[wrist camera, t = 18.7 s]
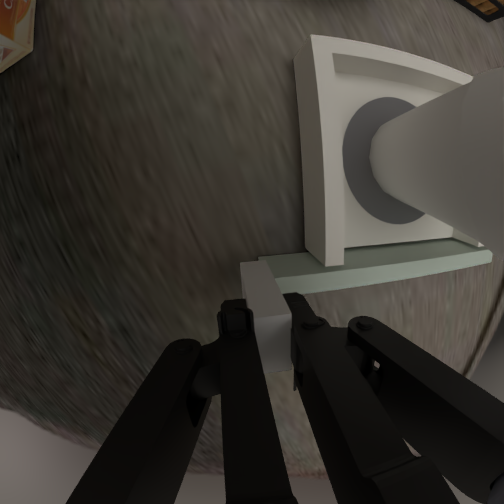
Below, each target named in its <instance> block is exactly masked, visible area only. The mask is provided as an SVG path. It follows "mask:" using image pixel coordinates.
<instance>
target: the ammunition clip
mask: <svg viewBox="0 0 504 504" xmlns="http://www.w3.org/2000/svg"><path fill="white" fill-rule="evenodd" d="M454 1H456V2H458V3H459V4H461V5H463V6H464V7H466V8H467V9H469V10H470V11H472V12H473V13H475V14H476V15H478V16H479V17H481V18H482V19H483V20H485V21H486V22H491V21H493V20H496V19H498V18H501V17H504V0H454Z"/></svg>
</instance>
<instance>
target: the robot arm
mask: <svg viewBox="0 0 504 504" xmlns="http://www.w3.org/2000/svg"><path fill="white" fill-rule="evenodd" d="M240 271H241V284H242V295H243V299H234V300H225V301H224V302H223V303H222V304H221V311H220V312H218V314H217V321H218V328H219V336H220V337H219V338H218V339H217V340H216V341H214V342H212V343H210V344H207V345H203V346H201V344H200V343H199V342H198V341H196V340H194V339H179V340H176V341H174V342H172V343H170V344H169V345H168V346H167V347H166V349H165V350H164V352H163V353H162V355H161V356H160V357H159V359H158V360H157V362H156V363H155V365H154V366H153V368H152V369H151V371H150V373H149V374H148V376H147V377H146V379H145V380H144V382H143V383H142V385H141V386H140V388H139V389H138V391H137V392H136V394H135V395H134V397H133V398H132V400H131V401H130V403H129V404H128V406H127V407H126V409H125V411H124V412H123V414H122V415H121V417H120V418H119V420H118V421H117V423H116V424H115V426H114V427H113V429H112V431H111V432H110V434H109V435H108V437H107V438H106V440H105V441H104V443H103V445H102V446H101V448H100V449H99V451H98V452H97V454H96V456H95V457H94V459H93V460H92V462H91V464H90V465H89V467H88V468H87V470H86V471H85V473H84V475H83V476H82V478H81V479H80V481H79V483H78V485H77V486H76V488H75V489H74V491H73V492H72V494H71V496H70V497H69V499H68V500H67V502H66V504H174V502H175V499H176V497H177V494H178V491H179V489H180V486H181V483H182V481H183V478H184V475H185V472H186V470H187V467H188V464H189V462H190V459H191V456H192V453H193V451H194V448H195V445H196V442H197V440H198V437H199V434H200V431H201V429H202V426H203V423H204V420H205V418H206V415H207V412H208V409H209V406H210V404H211V399H212V396H215V395H218V394H221V415H222V438H223V458H224V475H225V489H226V504H298V502H297V499H296V498H295V497H294V496H293V494H292V491H291V486H290V482H289V478H288V474H287V470H286V466H285V462H284V458H283V453H282V449H281V445H280V441H279V437H278V432H277V428H276V424H275V419H274V415H273V411H272V406H271V402H270V398H269V393H268V389H267V385H266V380H265V376H264V374H265V373H273V372H280V371H287V370H291V361H292V363H293V366H294V391H295V390H296V386H297V388H298V390H299V393H300V396H301V399H302V402H303V405H304V408H305V411H306V414H307V416H308V419H309V422H310V425H311V428H312V431H313V434H314V437H315V439H316V442H317V445H318V448H319V451H320V454H321V457H322V460H323V462H324V465H325V468H326V471H327V474H328V477H329V480H330V483H331V485H332V488H333V491H334V494H335V497H336V500H337V503H338V504H460V503H459V502H458V500H457V499H456V497H455V495H454V493H453V492H452V490H451V489H450V487H449V485H448V484H447V482H446V481H445V479H444V477H445V478H446V479H448V480H449V481H450V482H451V483H452V484H453V485H454V486H455V487H457V488H458V489H459V490H460V491H461V492H463V493H464V494H465V495H467V496H468V497H470V498H472V499H473V500H475V501H477V502H480V503H482V504H504V403H503V402H501V401H500V400H498V399H497V398H495V397H494V396H492V395H491V394H489V393H488V392H486V391H485V390H483V389H482V388H480V387H479V386H477V385H476V384H474V383H473V382H471V381H470V380H468V379H467V378H465V377H464V376H462V375H461V374H459V373H458V372H456V371H455V370H453V369H452V368H450V367H449V366H447V365H446V364H444V363H443V362H441V361H440V360H438V359H437V358H435V357H434V356H432V355H431V354H429V353H428V352H426V351H424V350H423V349H421V348H420V347H418V346H417V345H415V344H414V343H412V342H411V341H409V340H408V339H406V338H405V337H403V336H401V335H400V334H398V333H397V332H395V331H394V330H392V329H391V328H389V327H388V326H386V325H385V324H383V323H381V322H380V321H378V320H377V319H374V318H372V317H368V316H359V317H355V318H353V319H351V320H350V321H349V323H348V328H338V327H331V326H330V325H329V323H328V322H327V321H326V320H325V319H324V318H321V317H318V316H316V315H315V313H314V312H313V310H312V309H311V307H310V306H309V304H308V302H307V301H306V299H305V298H304V296H303V295H301V294H299V293H297V292H293V293H284V294H282V293H281V291H280V288H279V286H278V284H277V282H276V280H275V278H274V276H273V274H272V272H271V270H270V268H269V266H268V264H267V262H266V260H261V261H250V262H240ZM375 361H377V362H378V363H379V364H380V367H379V368H377V367H375V366H374V362H375ZM403 439H404V440H405V441H406V442H407V443H408V444H410V445H411V446H412V447H413V448H414V449H415V450H416V451H417V452H418V453H419V454H420V455H421V457H416V456H414V455H413V454H412V453H411V451H410V450H409V448H408V446H407V445H406V443H405V441H404V440H403ZM442 475H443V476H444V477H443V476H442Z"/></svg>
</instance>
